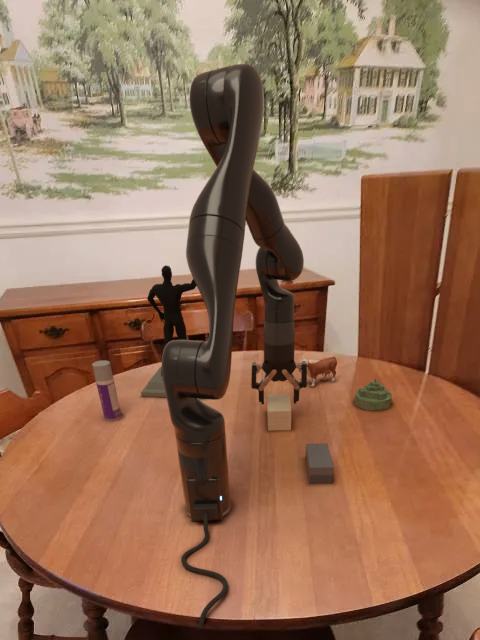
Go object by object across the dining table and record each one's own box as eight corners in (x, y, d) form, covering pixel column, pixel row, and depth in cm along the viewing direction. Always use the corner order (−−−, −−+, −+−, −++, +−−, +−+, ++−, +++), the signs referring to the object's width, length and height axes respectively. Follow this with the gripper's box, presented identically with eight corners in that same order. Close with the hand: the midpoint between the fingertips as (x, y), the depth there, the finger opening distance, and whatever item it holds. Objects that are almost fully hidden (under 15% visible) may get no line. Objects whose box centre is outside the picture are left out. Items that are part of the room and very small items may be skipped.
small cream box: (291, 430, 127) (291, 417, 125) (268, 430, 127) (267, 417, 125) (288, 412, 136) (289, 399, 134) (267, 412, 136) (267, 400, 134)
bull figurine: (295, 384, 151) (295, 358, 146) (332, 377, 155) (334, 350, 150) (302, 389, 148) (302, 362, 143) (339, 381, 152) (342, 355, 147)
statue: (221, 375, 159) (212, 249, 137) (207, 399, 144) (195, 263, 122) (160, 373, 162) (142, 250, 139) (141, 396, 147) (117, 263, 125)
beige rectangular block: (291, 417, 125) (291, 410, 124) (267, 417, 125) (267, 411, 124) (288, 399, 133) (289, 393, 132) (266, 400, 134) (266, 394, 132)
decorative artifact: (368, 413, 134) (397, 406, 137) (371, 388, 129) (401, 381, 133) (347, 400, 141) (376, 393, 144) (350, 376, 136) (379, 370, 140)
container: (100, 419, 135) (87, 364, 126) (112, 412, 139) (100, 359, 129) (114, 422, 134) (101, 367, 124) (125, 415, 137) (114, 361, 127)
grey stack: (332, 483, 107) (333, 467, 104) (309, 483, 107) (310, 467, 104) (326, 458, 115) (327, 443, 113) (305, 458, 116) (305, 443, 113)
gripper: (249, 344, 115) (251, 409, 126) (309, 343, 115) (307, 408, 125) (249, 335, 121) (251, 398, 131) (307, 333, 121) (304, 396, 131)
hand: (278, 403), depth 128 cm, fingers open, 8 cm apart
